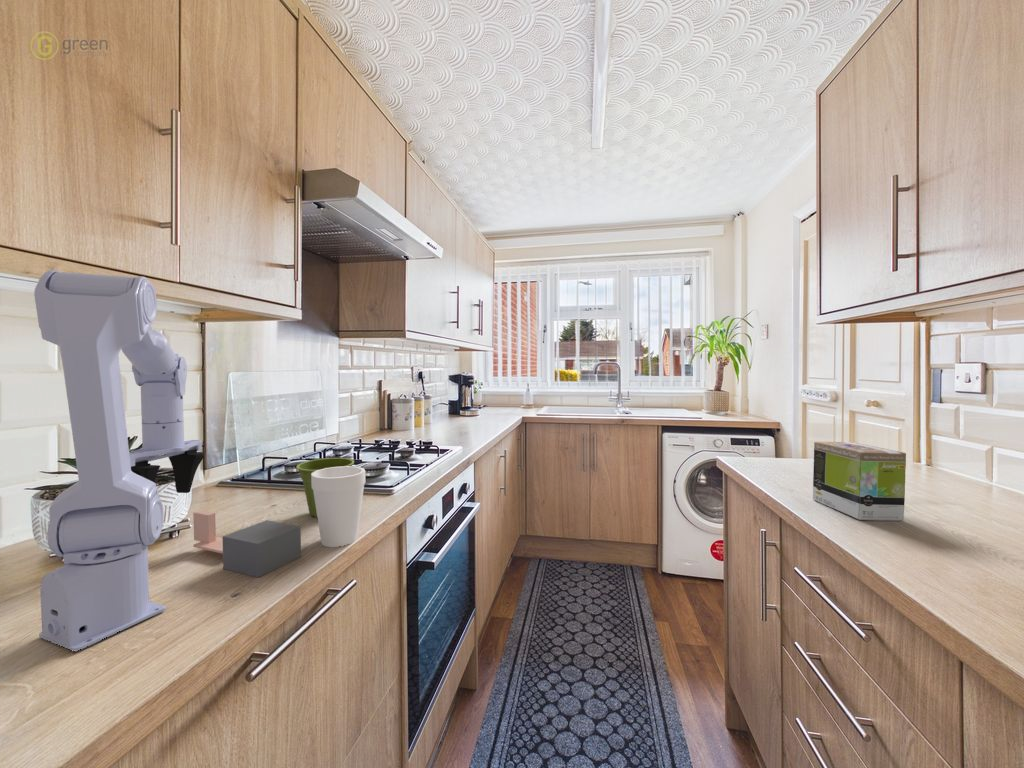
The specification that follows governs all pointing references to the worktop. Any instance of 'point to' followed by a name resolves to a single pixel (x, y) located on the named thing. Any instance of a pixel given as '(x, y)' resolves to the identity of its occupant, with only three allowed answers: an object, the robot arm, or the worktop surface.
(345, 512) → the foam cup
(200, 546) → the pink stepped block
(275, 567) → the grey square box
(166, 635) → the worktop surface
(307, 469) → the plant pot
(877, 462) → the tea box
